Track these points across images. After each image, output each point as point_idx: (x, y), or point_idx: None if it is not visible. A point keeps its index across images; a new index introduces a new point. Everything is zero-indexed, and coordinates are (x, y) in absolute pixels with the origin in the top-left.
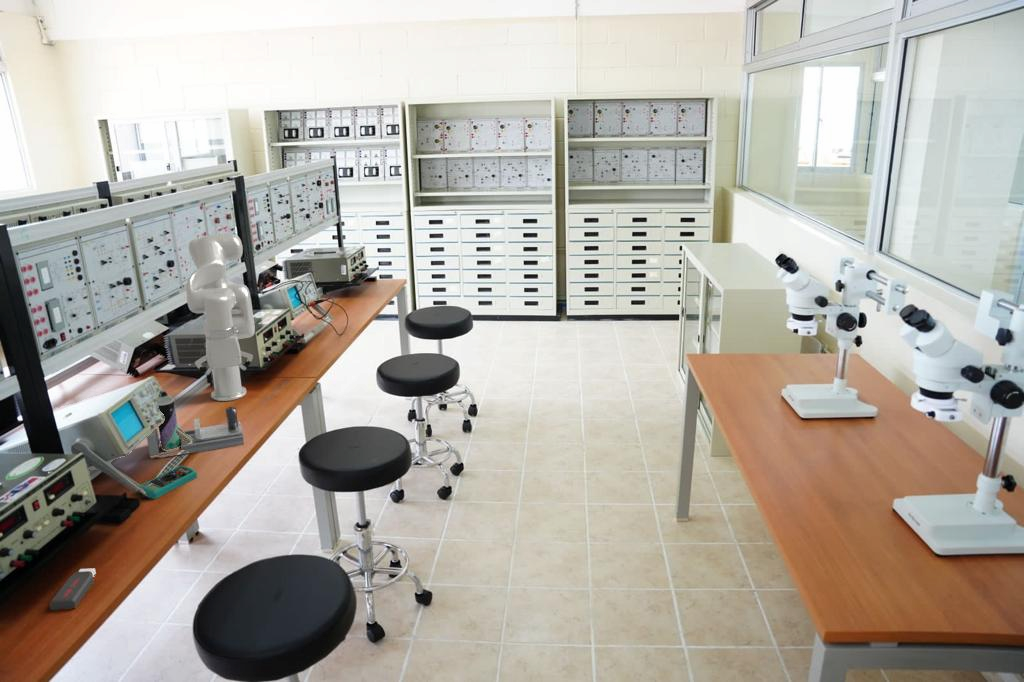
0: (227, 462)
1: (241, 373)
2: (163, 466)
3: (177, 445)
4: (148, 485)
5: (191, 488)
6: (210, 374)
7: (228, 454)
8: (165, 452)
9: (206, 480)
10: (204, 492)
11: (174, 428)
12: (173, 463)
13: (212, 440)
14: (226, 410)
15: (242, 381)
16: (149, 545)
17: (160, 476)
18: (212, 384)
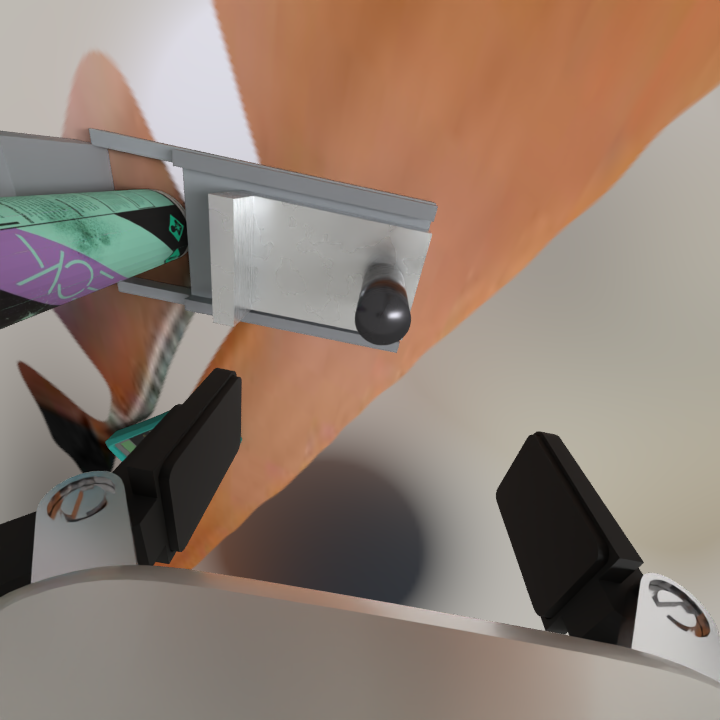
0: (322, 414)
1: (527, 588)
2: (152, 342)
3: (175, 258)
4: (128, 445)
5: (229, 471)
6: (166, 552)
7: (334, 376)
8: (140, 289)
9: (262, 460)
10: (254, 495)
11: (122, 279)
12: (179, 341)
13: (293, 322)
14: (356, 328)
15: (497, 496)
16: (169, 564)
17: (149, 431)
18: (233, 458)
